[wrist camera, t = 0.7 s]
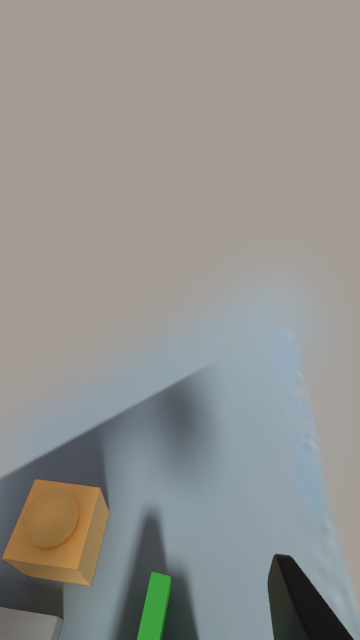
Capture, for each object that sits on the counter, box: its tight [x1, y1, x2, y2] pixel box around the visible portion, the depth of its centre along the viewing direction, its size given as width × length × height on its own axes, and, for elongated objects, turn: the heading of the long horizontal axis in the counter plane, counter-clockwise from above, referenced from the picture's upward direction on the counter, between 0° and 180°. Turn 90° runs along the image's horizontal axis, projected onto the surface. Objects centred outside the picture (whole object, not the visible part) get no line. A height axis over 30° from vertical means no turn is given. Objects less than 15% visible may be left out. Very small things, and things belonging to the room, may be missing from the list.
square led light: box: [2, 479, 109, 586], centre depth 22 cm, size 4×4×6 cm
